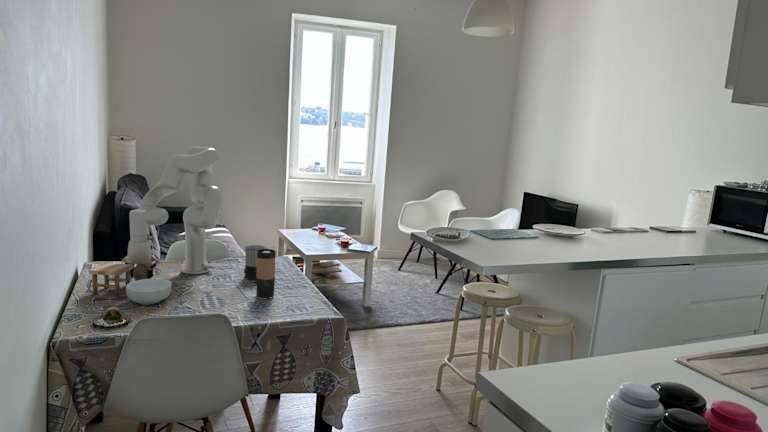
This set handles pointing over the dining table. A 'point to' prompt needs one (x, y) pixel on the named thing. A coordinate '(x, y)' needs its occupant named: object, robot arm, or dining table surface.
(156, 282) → the cereal bowl
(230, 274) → the dining table surface
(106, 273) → the stool
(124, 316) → the mossy pebble dish
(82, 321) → the dining table surface
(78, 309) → the dining table surface
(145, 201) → the robot arm
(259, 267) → the travel mug
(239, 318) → the dining table surface
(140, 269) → the vase
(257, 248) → the milk frother
